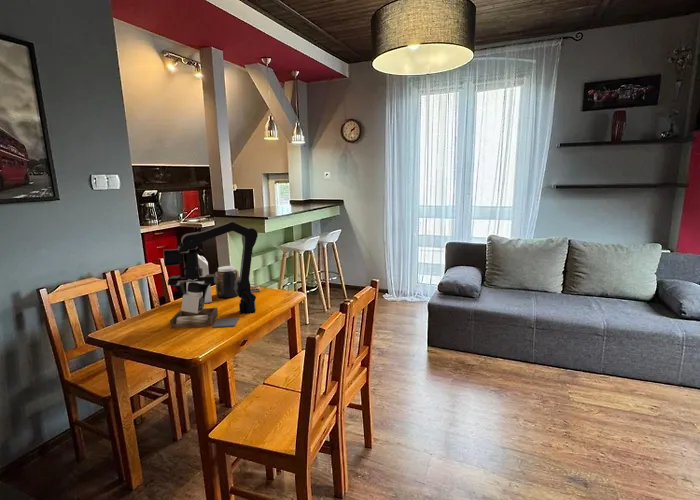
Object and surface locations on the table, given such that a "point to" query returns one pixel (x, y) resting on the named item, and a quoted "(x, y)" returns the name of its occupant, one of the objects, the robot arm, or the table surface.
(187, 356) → the table surface
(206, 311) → the walnut rack
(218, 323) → the rubber mat
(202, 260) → the milk
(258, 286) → the house of cards
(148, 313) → the table surface
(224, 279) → the jar
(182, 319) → the offcut stack
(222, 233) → the robot arm
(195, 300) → the medicine bottle
